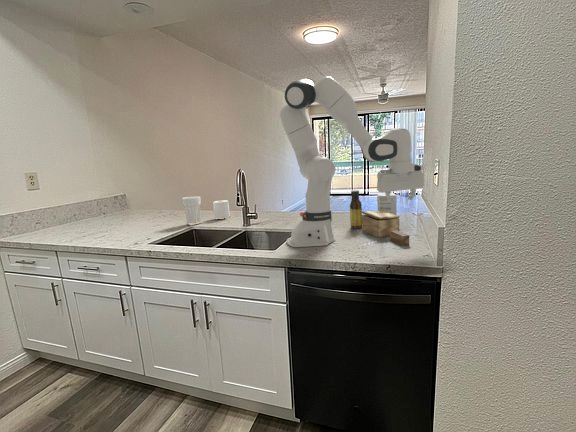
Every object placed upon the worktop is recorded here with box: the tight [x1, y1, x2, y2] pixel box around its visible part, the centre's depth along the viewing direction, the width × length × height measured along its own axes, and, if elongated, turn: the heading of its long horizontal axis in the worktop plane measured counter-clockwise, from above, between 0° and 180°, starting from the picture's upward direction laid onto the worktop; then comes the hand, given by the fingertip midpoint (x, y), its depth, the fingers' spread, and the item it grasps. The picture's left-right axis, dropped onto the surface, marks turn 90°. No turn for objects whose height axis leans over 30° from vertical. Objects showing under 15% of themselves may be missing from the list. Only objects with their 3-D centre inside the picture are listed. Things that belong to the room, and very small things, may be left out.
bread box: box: [361, 214, 400, 238], centre depth 161 cm, size 11×17×8 cm
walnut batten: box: [390, 230, 410, 247], centre depth 142 cm, size 3×10×4 cm, turn 12°
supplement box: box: [376, 192, 398, 215], centre depth 174 cm, size 10×9×17 cm
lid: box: [362, 210, 400, 219], centre depth 160 cm, size 11×17×1 cm
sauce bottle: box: [349, 189, 363, 229], centre depth 173 cm, size 7×6×20 cm
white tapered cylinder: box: [212, 199, 231, 219], centre depth 223 cm, size 10×10×12 cm
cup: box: [181, 195, 202, 224], centre depth 210 cm, size 11×11×17 cm
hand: (400, 200), depth 139 cm, fingers open, 8 cm apart
